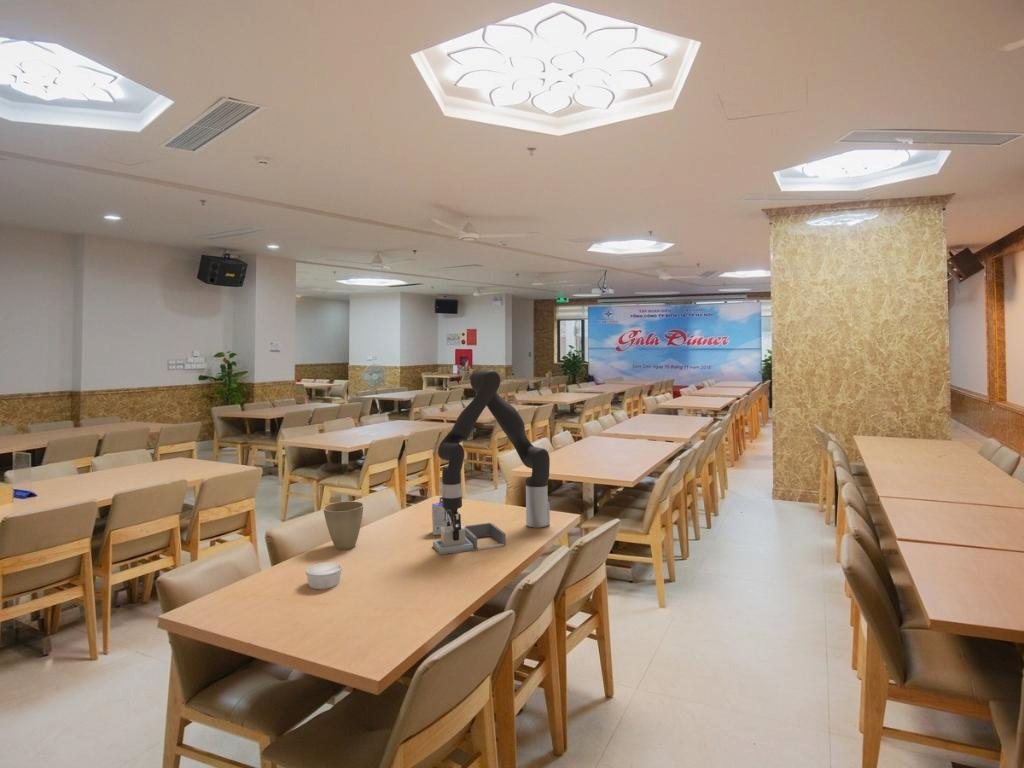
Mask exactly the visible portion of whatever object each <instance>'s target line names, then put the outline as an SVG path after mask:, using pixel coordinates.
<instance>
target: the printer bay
mask: <svg viewBox="0 0 1024 768" xmlns="http://www.w3.org/2000/svg"><path fill="white" fill-rule="evenodd" d="M463 527H464V528H465V536H466V537H467V538H468V539H469V540H470V541H471V542H472V543H473V549H474V550H473V551H475V550H479V551H480V550H486V549H494V548H500V547H505V546H507V541H506V538H507V536H506V535H507V534H506V532H504V531H503V530H501V528H500V527H498V526H497V525H496V524H494V523H492V522H484V523H478V524H470V525H469V524H468V525H465V526H463ZM483 537H492V538H493V539H494V540H496V541H497V542H498V543H497V544H490V545H484V546H478V538H483Z"/></svg>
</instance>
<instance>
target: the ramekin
mask: <svg viewBox="0 0 1024 768" xmlns="http://www.w3.org/2000/svg"><path fill="white" fill-rule="evenodd" d="M342 567H343V566H342V565H341V564H340V563H338V562H332V561H329V562H319V563H315V564H312V565H310V566H308V567H307V568H306V569H305V575H306V577H307V583H308V586H309V587H310V588H311V589H313V588H314V589H313V590H327V589H331V588H333V587H335V586H337V585H338V584H339V583H340V581H341V574H342V570H343V568H342Z"/></svg>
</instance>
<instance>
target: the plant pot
mask: <svg viewBox="0 0 1024 768" xmlns="http://www.w3.org/2000/svg"><path fill="white" fill-rule="evenodd" d="M322 508H323V510H322V511H323V513H324V519H325V522H326V523H325V524H326V527H327V531H328V533H329V536H330V539H331V541H332V544H333V545H334V547H335V549H336V550H341V551H345V550H350V549H353V548H355V547H356V545H357V540H358V538H359V534H360V531H361V525H362V521H363V514H364V513H363V512H364V503H363V502H361V501H355V500H354V501H353V500H350V501H349V500H346V501H339V502H338V501H337V502H333V503H329V504H327V505H325V506H324V507H322Z"/></svg>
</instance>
